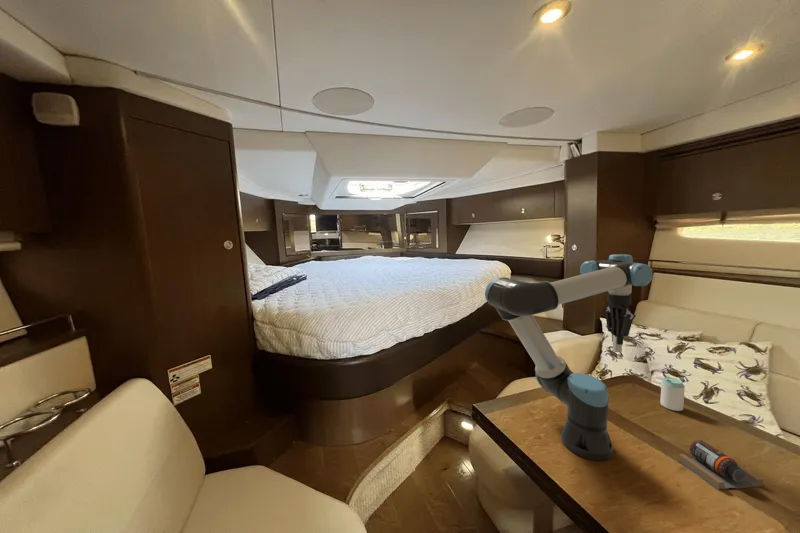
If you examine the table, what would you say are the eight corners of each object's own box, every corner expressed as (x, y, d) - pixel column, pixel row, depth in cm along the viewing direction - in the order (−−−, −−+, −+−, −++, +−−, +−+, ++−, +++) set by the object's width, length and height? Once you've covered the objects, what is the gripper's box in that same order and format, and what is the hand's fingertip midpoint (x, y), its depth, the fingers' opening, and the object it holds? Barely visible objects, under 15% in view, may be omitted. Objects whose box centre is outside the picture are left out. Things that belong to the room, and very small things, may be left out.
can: (680, 414, 116) (682, 385, 115) (657, 406, 122) (659, 379, 121) (685, 408, 120) (687, 380, 119) (663, 400, 126) (664, 374, 125)
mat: (717, 489, 81) (718, 482, 81) (678, 460, 92) (678, 454, 92) (763, 486, 82) (763, 479, 82) (718, 457, 93) (719, 451, 93)
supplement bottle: (708, 442, 93) (753, 470, 82) (699, 458, 94) (743, 488, 82) (693, 436, 93) (736, 463, 82) (685, 452, 93) (726, 481, 82)
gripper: (643, 296, 107) (640, 357, 109) (615, 290, 120) (612, 345, 122) (624, 296, 107) (621, 358, 109) (598, 291, 120) (596, 346, 122)
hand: (616, 351), depth 115 cm, fingers closed
